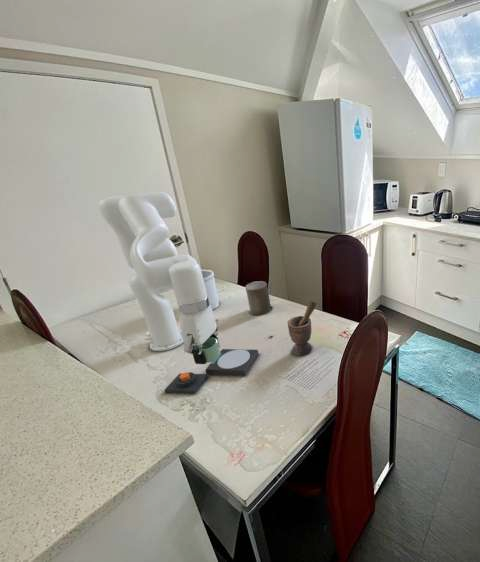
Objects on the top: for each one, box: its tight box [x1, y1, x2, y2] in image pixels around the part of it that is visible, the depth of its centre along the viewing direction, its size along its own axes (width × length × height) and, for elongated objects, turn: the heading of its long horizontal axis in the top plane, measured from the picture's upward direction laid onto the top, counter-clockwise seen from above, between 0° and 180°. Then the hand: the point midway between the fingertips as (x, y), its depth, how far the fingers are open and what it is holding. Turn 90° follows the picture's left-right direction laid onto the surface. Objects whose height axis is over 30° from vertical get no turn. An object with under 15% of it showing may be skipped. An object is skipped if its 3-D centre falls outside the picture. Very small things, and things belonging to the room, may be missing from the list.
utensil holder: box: [201, 269, 220, 311], centre depth 153 cm, size 15×15×18 cm
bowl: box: [195, 337, 221, 364], centre depth 95 cm, size 7×7×5 cm
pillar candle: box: [244, 280, 272, 316], centre depth 150 cm, size 10×10×15 cm
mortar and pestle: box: [287, 299, 317, 356], centre depth 120 cm, size 12×9×20 cm
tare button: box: [180, 372, 190, 382], centre depth 104 cm, size 3×3×2 cm
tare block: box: [164, 371, 209, 395], centre depth 105 cm, size 10×8×3 cm
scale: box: [205, 348, 260, 377], centre depth 114 cm, size 14×12×3 cm
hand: (208, 355), depth 96 cm, fingers closed on bowl, 6 cm apart
